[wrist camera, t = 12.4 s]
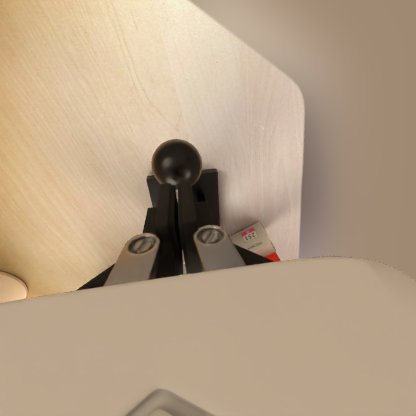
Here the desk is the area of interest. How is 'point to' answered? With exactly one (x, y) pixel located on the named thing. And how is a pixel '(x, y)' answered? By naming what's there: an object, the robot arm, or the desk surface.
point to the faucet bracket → (195, 191)
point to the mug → (11, 288)
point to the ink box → (255, 241)
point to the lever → (176, 165)
